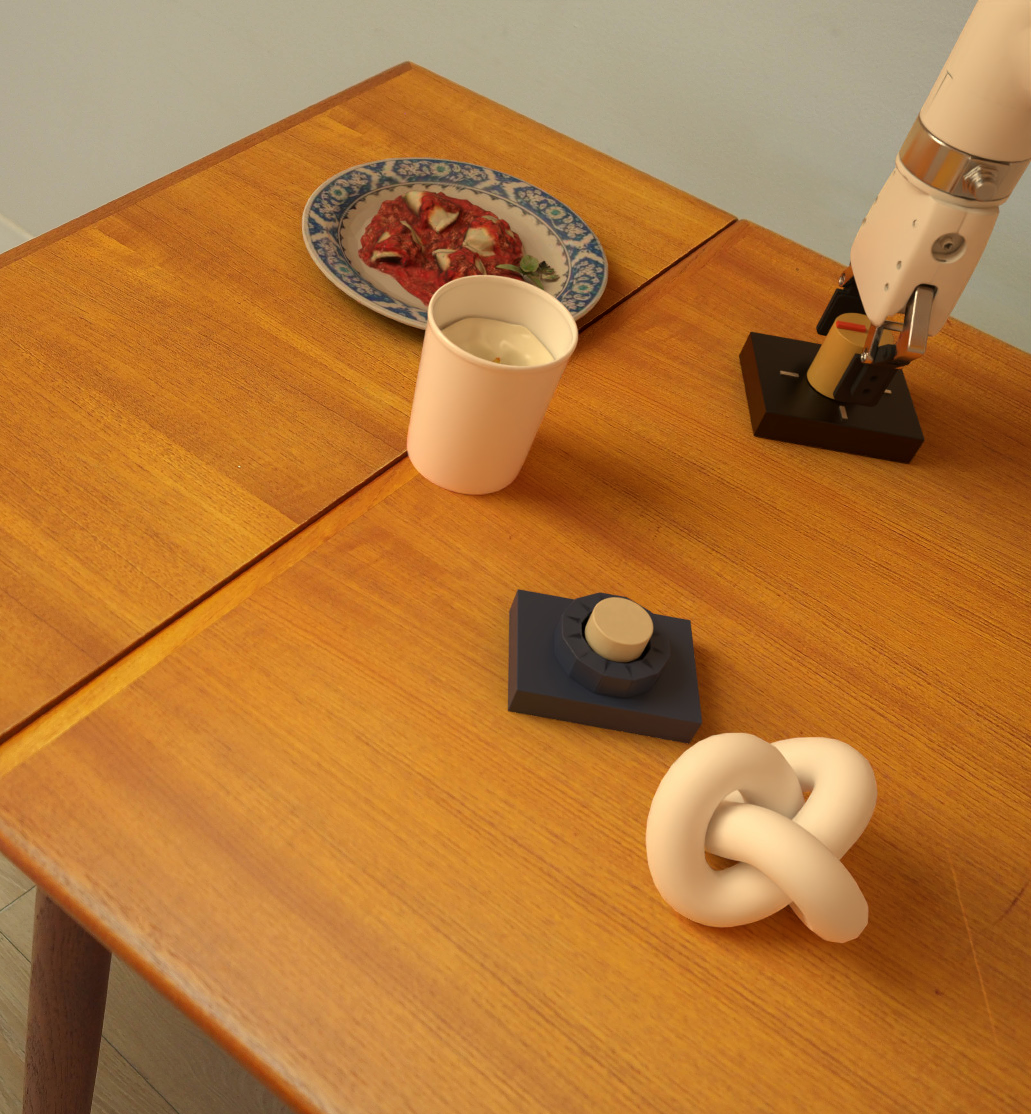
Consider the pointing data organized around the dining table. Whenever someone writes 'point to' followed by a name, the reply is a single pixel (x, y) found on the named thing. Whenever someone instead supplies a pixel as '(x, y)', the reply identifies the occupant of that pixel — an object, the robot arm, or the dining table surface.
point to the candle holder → (486, 380)
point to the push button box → (600, 671)
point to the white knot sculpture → (763, 832)
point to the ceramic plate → (446, 235)
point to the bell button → (618, 629)
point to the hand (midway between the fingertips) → (844, 366)
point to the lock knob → (841, 351)
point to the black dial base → (822, 405)
